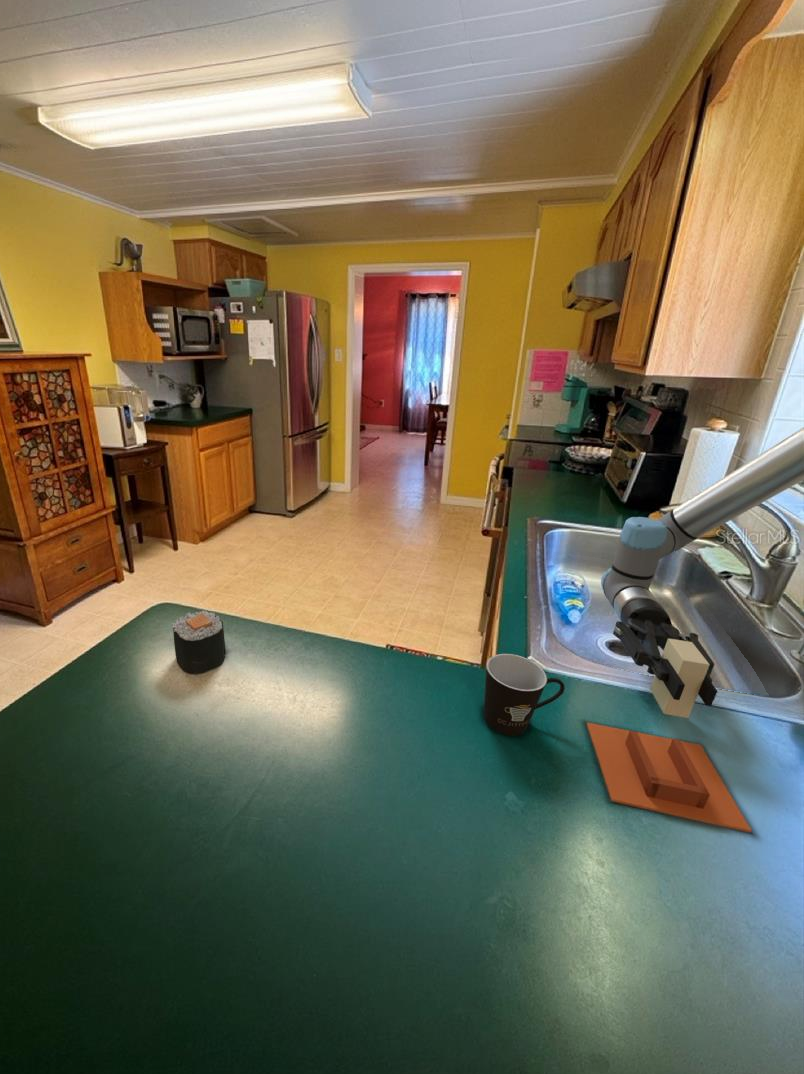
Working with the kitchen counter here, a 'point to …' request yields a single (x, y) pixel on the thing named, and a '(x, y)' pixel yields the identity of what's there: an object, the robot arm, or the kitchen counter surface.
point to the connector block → (689, 670)
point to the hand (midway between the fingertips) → (695, 695)
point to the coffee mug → (514, 692)
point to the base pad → (663, 776)
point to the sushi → (199, 642)
